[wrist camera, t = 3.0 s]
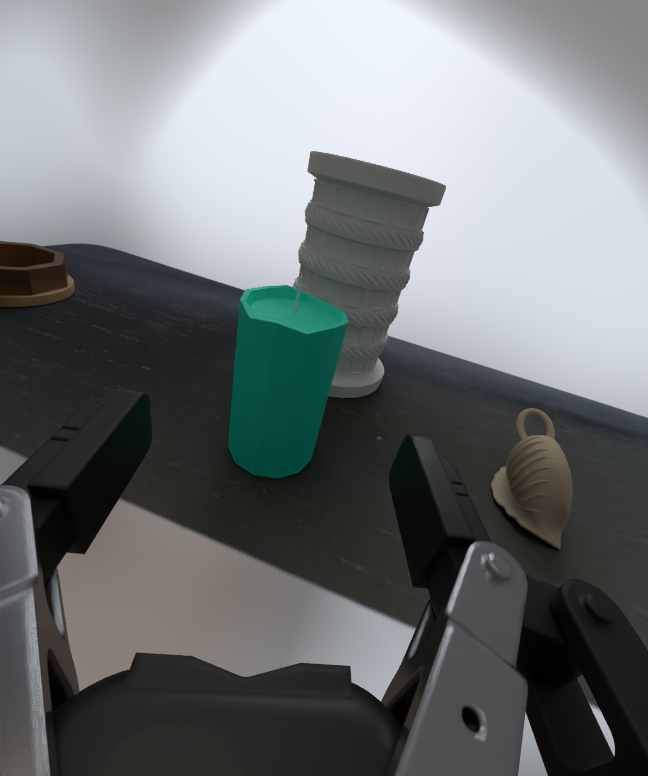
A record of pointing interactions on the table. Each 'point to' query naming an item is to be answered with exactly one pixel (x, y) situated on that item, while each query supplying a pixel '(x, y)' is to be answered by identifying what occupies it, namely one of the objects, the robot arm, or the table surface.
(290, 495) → the table surface
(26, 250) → the candle pad
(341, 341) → the candle
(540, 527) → the decorative ornament
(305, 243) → the decorative container
